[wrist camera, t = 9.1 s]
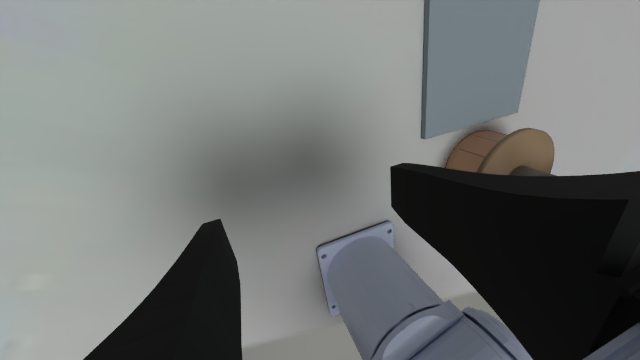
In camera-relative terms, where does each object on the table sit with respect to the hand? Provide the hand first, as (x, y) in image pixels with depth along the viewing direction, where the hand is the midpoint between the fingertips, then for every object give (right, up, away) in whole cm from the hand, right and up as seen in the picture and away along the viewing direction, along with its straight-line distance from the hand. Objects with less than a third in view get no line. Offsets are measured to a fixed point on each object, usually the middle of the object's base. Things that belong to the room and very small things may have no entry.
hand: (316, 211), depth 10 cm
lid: (+17, +2, +13) cm, 21 cm away
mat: (+14, +12, +11) cm, 21 cm away
